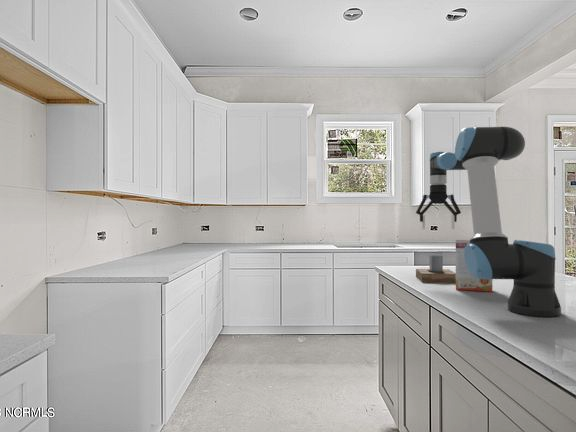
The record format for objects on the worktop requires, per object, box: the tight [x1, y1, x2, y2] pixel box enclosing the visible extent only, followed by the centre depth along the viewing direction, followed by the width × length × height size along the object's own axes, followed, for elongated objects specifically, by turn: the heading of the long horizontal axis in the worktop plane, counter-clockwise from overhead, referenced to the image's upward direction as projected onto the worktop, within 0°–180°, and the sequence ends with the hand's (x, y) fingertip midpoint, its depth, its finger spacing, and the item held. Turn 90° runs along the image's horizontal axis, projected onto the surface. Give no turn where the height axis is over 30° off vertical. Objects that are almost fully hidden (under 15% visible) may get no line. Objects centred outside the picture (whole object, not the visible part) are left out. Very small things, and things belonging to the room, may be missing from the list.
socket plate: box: [415, 268, 456, 284], centre depth 195 cm, size 16×16×4 cm
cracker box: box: [455, 239, 493, 293], centre depth 170 cm, size 14×6×21 cm, turn 68°
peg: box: [429, 253, 444, 273], centre depth 195 cm, size 5×5×12 cm
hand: (438, 228), depth 194 cm, fingers open, 13 cm apart
